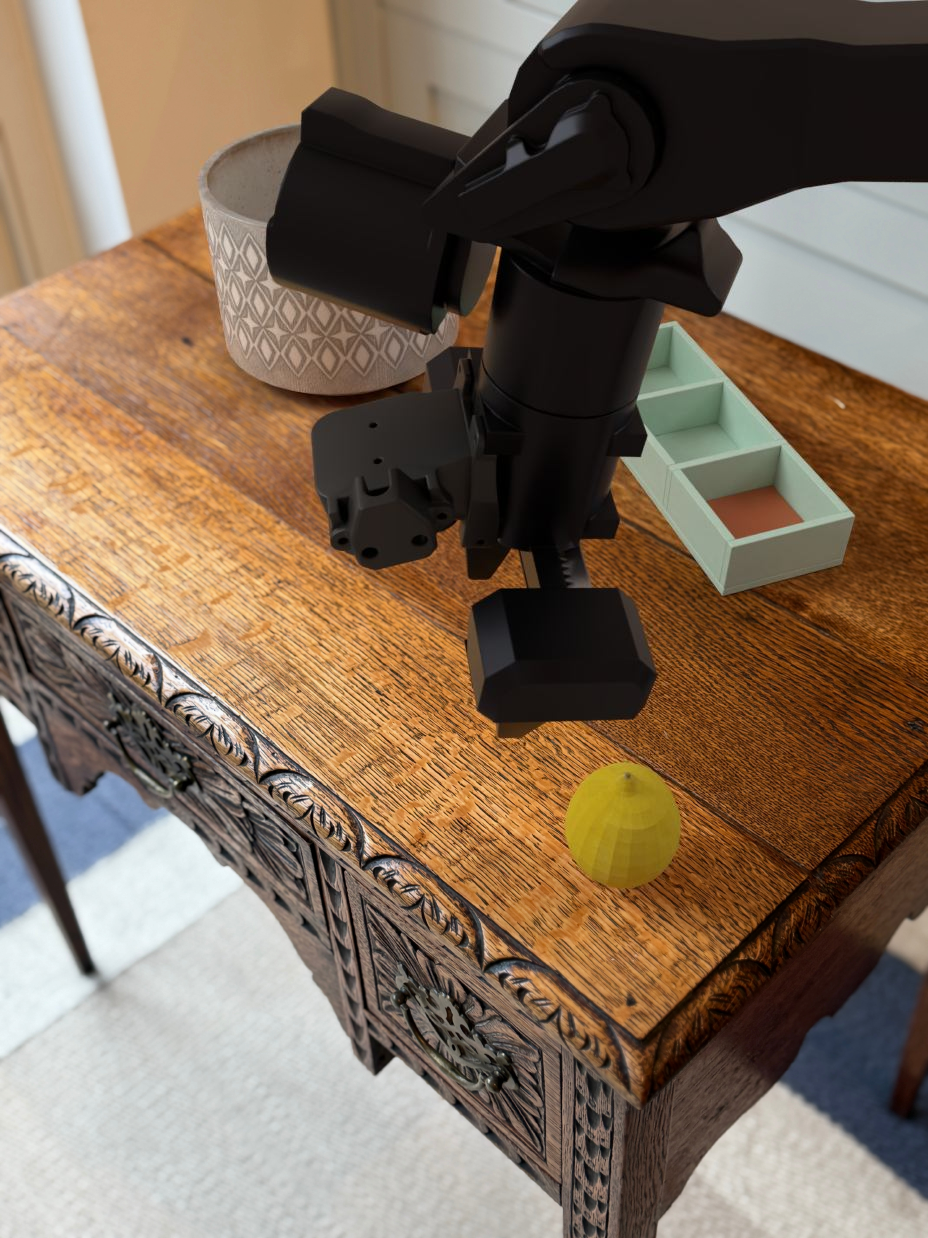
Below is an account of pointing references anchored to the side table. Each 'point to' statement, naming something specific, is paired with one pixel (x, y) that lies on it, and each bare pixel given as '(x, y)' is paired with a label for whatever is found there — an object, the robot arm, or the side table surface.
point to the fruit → (623, 825)
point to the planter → (281, 317)
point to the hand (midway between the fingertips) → (492, 651)
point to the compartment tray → (730, 475)
